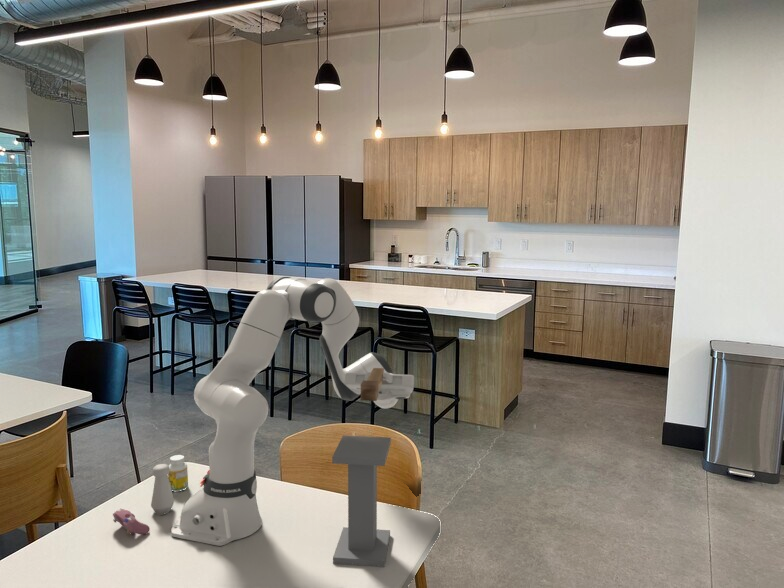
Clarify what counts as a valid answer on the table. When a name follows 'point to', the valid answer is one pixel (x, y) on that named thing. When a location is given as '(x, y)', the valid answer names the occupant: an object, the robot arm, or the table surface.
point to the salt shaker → (162, 490)
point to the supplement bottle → (178, 473)
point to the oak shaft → (372, 385)
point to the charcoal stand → (362, 501)
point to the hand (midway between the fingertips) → (376, 375)
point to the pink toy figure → (130, 522)
